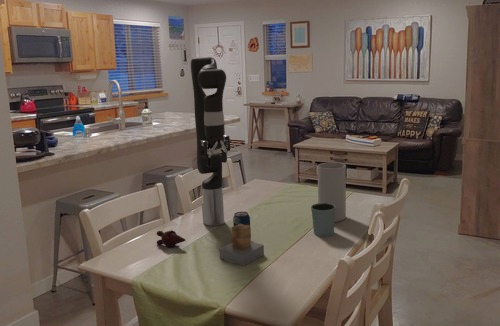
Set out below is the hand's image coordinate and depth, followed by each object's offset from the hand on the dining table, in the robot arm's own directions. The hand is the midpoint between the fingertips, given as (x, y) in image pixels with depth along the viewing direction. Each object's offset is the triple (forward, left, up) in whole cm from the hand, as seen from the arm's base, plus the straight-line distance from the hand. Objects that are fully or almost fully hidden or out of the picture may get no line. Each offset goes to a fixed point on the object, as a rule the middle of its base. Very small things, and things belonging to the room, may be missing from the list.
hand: (216, 164), depth 181 cm
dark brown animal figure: (-19, -10, -35) cm, 41 cm away
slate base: (+13, -2, -34) cm, 37 cm away
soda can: (+3, +10, -35) cm, 36 cm away
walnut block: (+13, -2, -30) cm, 33 cm away
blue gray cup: (+26, +36, -35) cm, 56 cm away
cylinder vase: (+19, +55, -35) cm, 68 cm away
